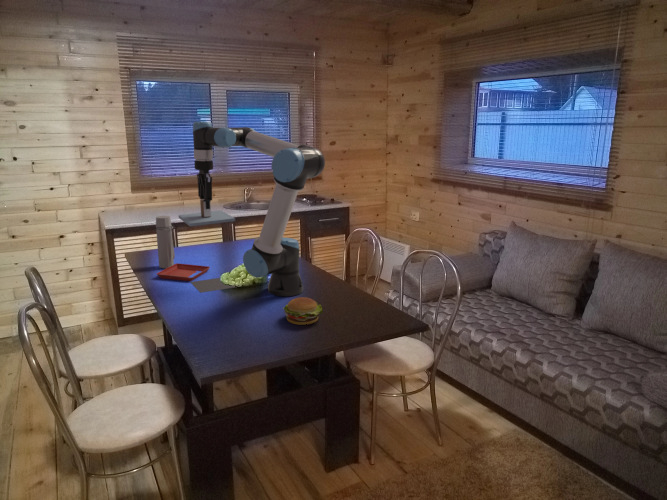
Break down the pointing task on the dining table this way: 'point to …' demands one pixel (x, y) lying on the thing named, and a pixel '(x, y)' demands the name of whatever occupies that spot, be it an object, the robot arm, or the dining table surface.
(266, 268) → the robot arm
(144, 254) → the dining table surface
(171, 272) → the plant saucer
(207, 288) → the mat
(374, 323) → the dining table surface
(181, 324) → the dining table surface
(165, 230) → the water bottle
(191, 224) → the lid
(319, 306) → the food
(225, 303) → the dining table surface
